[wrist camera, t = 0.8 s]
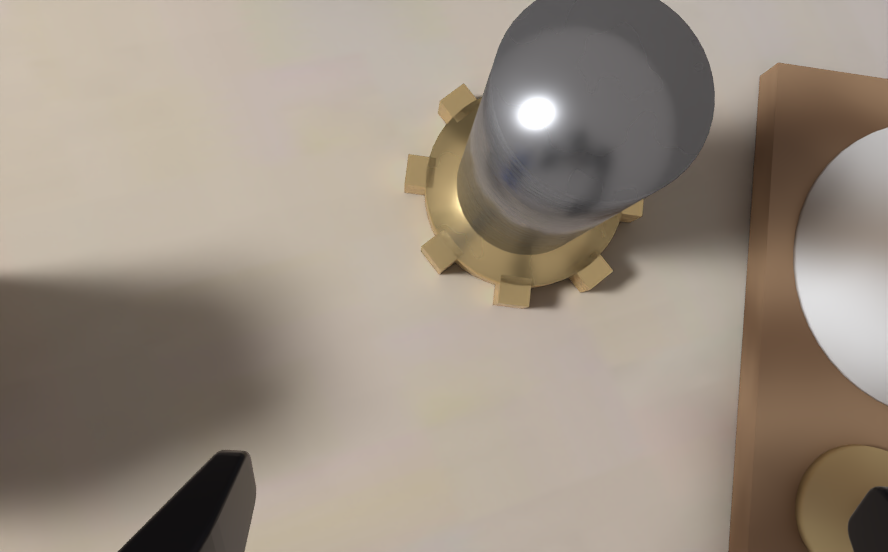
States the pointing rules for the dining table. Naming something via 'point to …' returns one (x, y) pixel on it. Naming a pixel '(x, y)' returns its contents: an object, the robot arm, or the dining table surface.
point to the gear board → (813, 313)
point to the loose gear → (563, 142)
